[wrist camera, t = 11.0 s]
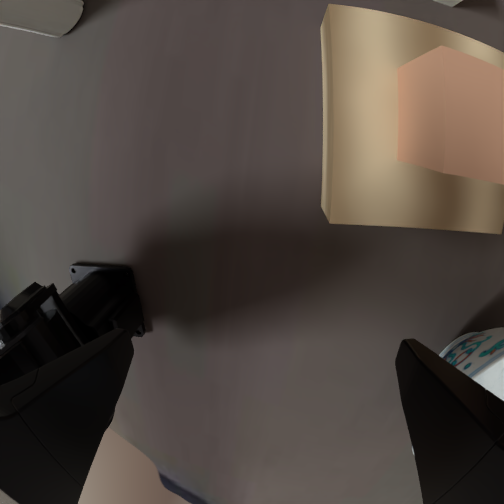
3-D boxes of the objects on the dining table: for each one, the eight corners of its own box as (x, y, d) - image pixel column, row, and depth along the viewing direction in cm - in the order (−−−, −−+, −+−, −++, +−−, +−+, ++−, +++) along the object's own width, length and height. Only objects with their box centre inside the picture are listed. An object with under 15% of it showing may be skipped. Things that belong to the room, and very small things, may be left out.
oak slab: (320, 206, 19) (329, 223, 15) (320, 28, 14) (328, 3, 11) (471, 217, 18) (501, 234, 14) (475, 62, 13) (506, 54, 10)
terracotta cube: (396, 160, 13) (443, 173, 9) (397, 68, 12) (441, 45, 7) (470, 171, 13) (526, 190, 8) (472, 88, 11) (527, 81, 7)
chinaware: (397, 424, 26) (411, 478, 19) (384, 331, 22) (412, 400, 15) (505, 374, 23) (531, 417, 16) (521, 269, 18) (570, 310, 11)
